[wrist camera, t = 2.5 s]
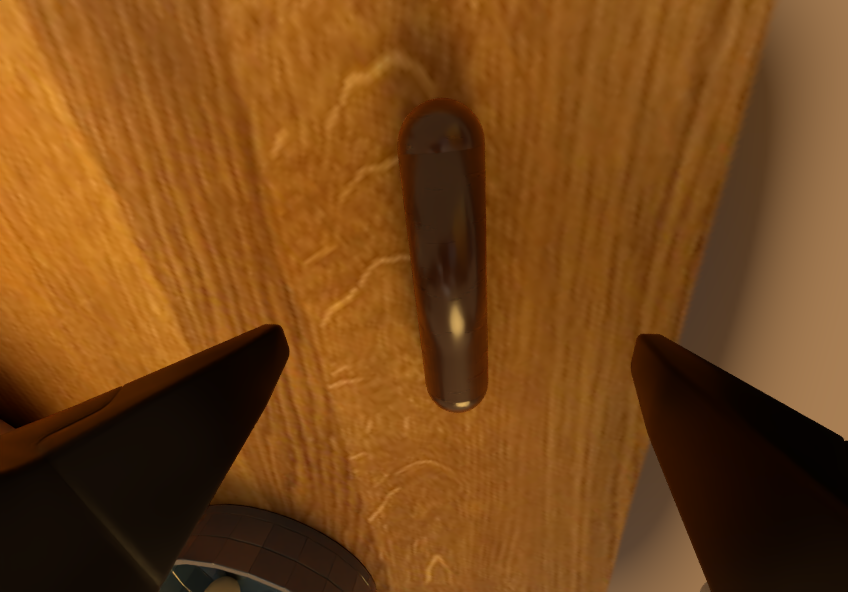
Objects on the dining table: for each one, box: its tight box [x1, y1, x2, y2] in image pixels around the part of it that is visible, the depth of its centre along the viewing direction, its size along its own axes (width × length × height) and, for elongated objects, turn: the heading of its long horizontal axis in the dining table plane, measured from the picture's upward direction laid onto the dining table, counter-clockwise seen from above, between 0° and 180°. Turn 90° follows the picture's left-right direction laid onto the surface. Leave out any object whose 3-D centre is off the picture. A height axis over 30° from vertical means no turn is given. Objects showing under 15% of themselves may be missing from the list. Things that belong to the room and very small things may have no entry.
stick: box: [397, 98, 488, 413], centre depth 12 cm, size 11×2×2 cm, turn 6°
